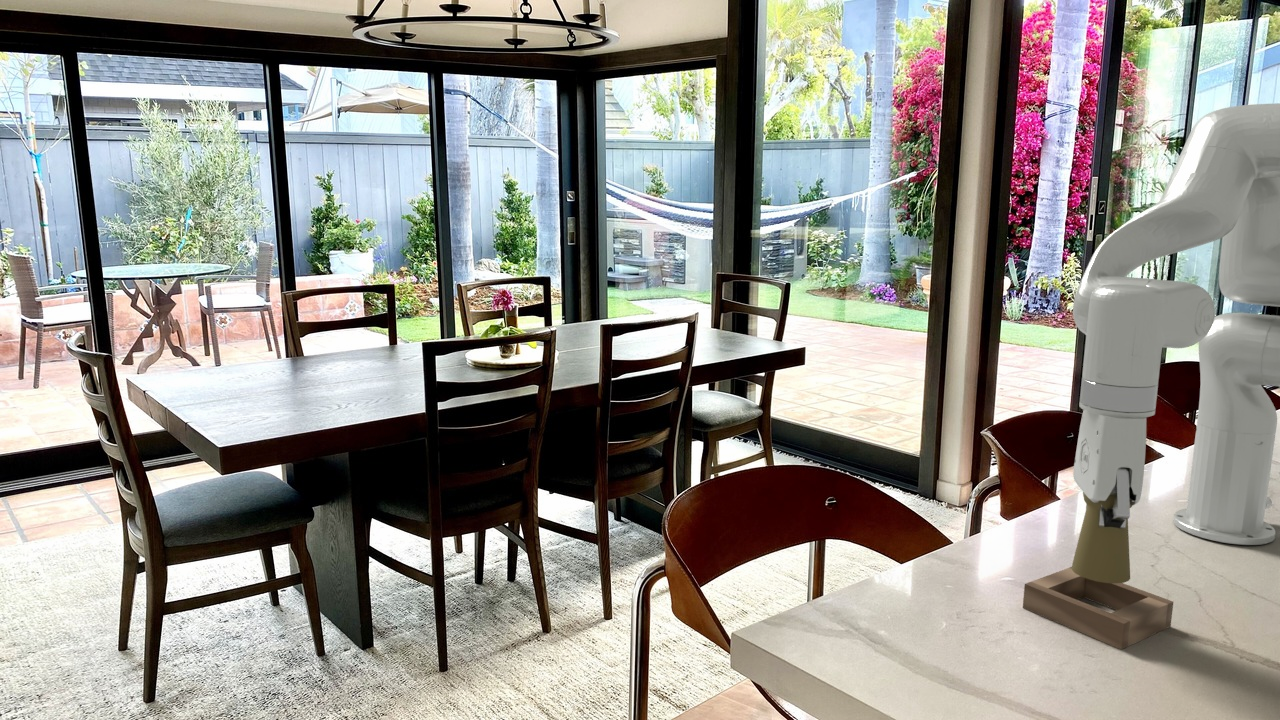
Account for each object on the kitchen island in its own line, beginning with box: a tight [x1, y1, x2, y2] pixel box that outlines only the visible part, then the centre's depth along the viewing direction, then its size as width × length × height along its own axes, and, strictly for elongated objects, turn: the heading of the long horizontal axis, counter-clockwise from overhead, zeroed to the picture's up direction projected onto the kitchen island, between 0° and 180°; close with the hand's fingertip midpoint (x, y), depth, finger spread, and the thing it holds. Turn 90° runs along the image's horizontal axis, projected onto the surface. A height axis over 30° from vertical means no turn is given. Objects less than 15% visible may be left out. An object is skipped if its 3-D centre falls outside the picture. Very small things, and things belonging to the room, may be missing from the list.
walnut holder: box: [1022, 566, 1174, 650], centre depth 108 cm, size 10×12×3 cm
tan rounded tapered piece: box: [1071, 487, 1134, 584], centre depth 106 cm, size 6×6×11 cm
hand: (1101, 553), depth 107 cm, fingers closed on tan rounded tapered piece, 2 cm apart
